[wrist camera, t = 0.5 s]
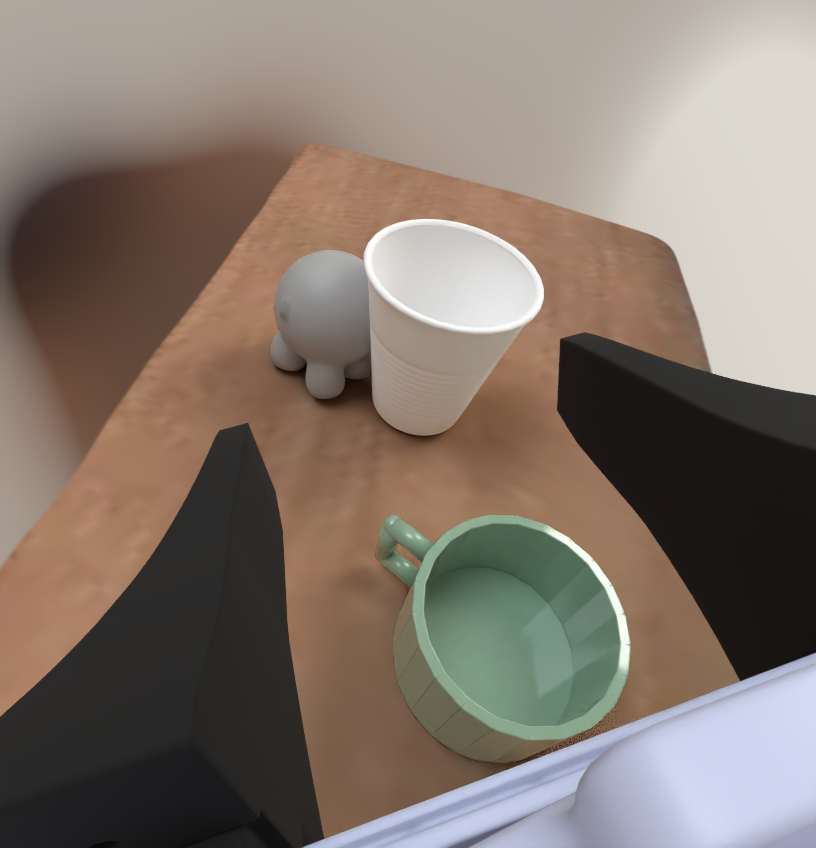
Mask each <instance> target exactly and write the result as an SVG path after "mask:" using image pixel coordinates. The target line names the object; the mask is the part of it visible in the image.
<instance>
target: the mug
mask: <svg viewBox="0 0 816 848" xmlns="http://www.w3.org/2000/svg"><path fill="white" fill-rule="evenodd" d="M398 543H399V544H400V545H402V546H403V547H404V548H405V549H407V550H408V551H409V552H410V553H412V554H413V555H414V556H415V557H417V558H418V559H419V560H420V561H421V562H422V563H421V565H420V567H419V569H418V568H417V567H416V566H414V565H413V564H412V563H411V562H410V561H408V560H407V559H406V558H405V557H403V556H402V555H401V554H400V553H398V552H397V551H396V548H397V545H398ZM375 557H376V559H377V560H378V561H379V562H380V563H381V564H382V565H383V566H385V567H386V568H387V569H388V570H389V571H391V572H392V573H393V574H394V575H395V576H397V577H398V578H399V579H400V580H401V581H403V582H404V583H405V584H406V585H407V586H409V587H410V589H409V592H408V594H407V596H406V598H405V601H404V603H403V606H402V608H401V610H400V613H399V615H398V618H397V621H396V626H395V630H394V637H393V661H394V667H395V673H396V677H397V680H398V684H399V687H400V689H401V692H402V694H403V696H404V699H405V701H406V702H407V704H408V706H409V708H410V709H411V711H412V713H413V714H414V716H415V717H416V718H417V720H418V721H419V722H420V724H421V725H422V726H423V727H424V728H425V729H426V730H427V731H428V732H429V733H430V734H431V735H432V736H433V737H434V738H436V739H437V740H438V741H439V742H441V743H442V744H443V745H445V746H446V747H448V748H450V749H451V750H453V751H454V752H456V753H459V754H461V755H463V756H466V757H468V758H471V759H475V760H478V761H482V762H490V763H509V762H514V761H520V760H523V759H526V758H528V757H530V756H533V755H535V754H537V753H540V752H542V751H545V750H547V749H549V748H551V747H553V746H555V745H557V744H560V743H562V742H564V741H566V740H568V739H570V738H572V737H574V736H576V735H579V734H581V733H583V732H585V731H587V730H589V729H591V728H592V727H594V726H595V725H596V724H597V723H598V722H599V721H600V720H601V719H602V718H603V717H604V716H605V715H606V714H607V713H608V712H609V711H610V710H611V709H612V708H613V707H614V705H616V702H617V700H618V698H619V696H620V694H621V691H622V689H623V687H624V685H625V682H626V680H627V677H628V669H629V660H630V650H631V647H630V646H631V644H630V638H629V632H628V627H627V621H626V616H625V612H624V610H623V608H622V606H621V603H620V601H619V599H618V596H617V594H616V592H615V590H614V587H613V586H612V584H611V582H610V581H609V580H608V578H607V577H606V575H605V574H604V573H603V571H602V570H601V569H600V567H599V566H598V564H597V563H596V562H595V560H593V558H592V557H591V556H589V555H588V554H587V553H586V552H585V551H584V550H583V549H582V548H581V547H579V546H578V545H577V544H576V543H575V542H574V541H573V540H570V538H569V537H567V536H565V535H563V534H562V533H560V532H558V531H556V530H555V529H553V528H551V527H549V526H547V525H545V524H543V523H540V522H536V521H533V520H530V519H527V518H523V517H520V516H509V515H487V516H483V517H479V518H475V519H470V520H466V521H464V522H462V523H460V524H459V525H457V526H455V527H454V528H452V529H450V530H449V531H447V532H445V533H444V534H443V535H442V536H441V537H440V538H439V539H438V540H437V541H436V542H435V544H433V543H432V542H431V541H430V540H428V539H427V538H426V537H425V536H423V535H422V534H421V533H420V532H418V531H417V530H416V529H414V528H413V527H412V526H411V525H409V524H408V523H407V522H406V521H404V520H403V519H402V518H401V517H399V516H397V515H390V516H388V517H387V518H386V519H385V520H384V523H383V526H382V529H381V533H380V536H379V539H378V543H377V546H376V550H375Z"/></svg>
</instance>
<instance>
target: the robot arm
mask: <svg viewBox="0 0 816 848" xmlns="http://www.w3.org/2000/svg"><path fill="white" fill-rule="evenodd" d="M557 411H558V412H559V414H560V416H561V417H562V419H563V421H564V423H565V424H566V426H567V428H568V429H569V431H570V432H571V434H572V435H573V437H574V438H575V440H576V442H577V443H578V444H579V446H580V447H581V448H582V449H583V450H584V452H585V453H586V454H587V455H588V456H589V458H590V459H591V460H592V461H593V462H594V464H595V465H596V466H597V467H598V468H599V469H600V471H601V472H602V473H603V474H604V475H605V476H606V478H607V479H608V480H609V481H610V482H611V483H612V485H613V486H614V487H615V488H616V489H617V490H618V492H619V493H620V494H621V495H622V496H623V497H624V499H625V500H626V501H627V502H628V503H629V504H630V506H631V507H632V508H633V509H634V510H635V512H636V513H637V514H638V515H639V517H640V518H641V519H642V521H643V522H644V523H645V524H646V526H647V527H648V529H649V530H650V532H651V533H652V535H653V536H654V538H655V539H656V541H657V542H658V543H659V545H660V546H661V548H662V549H663V551H664V552H665V554H666V555H667V557H668V558H669V560H670V561H671V563H672V564H673V566H674V568H675V569H676V571H677V572H678V574H679V576H680V577H681V579H682V580H683V582H684V583H685V585H686V587H687V588H688V590H689V591H690V593H691V594H692V596H693V598H694V600H695V601H696V603H697V605H698V606H699V608H700V610H701V611H702V613H703V615H704V617H705V618H706V620H707V622H708V623H709V625H710V627H711V628H712V630H713V632H714V634H715V635H716V637H717V639H718V641H719V642H720V644H721V646H722V648H723V650H724V652H725V654H726V655H727V657H728V659H729V661H730V663H731V665H732V666H733V668H734V670H735V672H736V674H737V676H738V678H739V679H740V682H737V683H735V684H732V685H729V686H727V687H724V688H721V689H719V690H716V691H714V692H711V693H708V694H706V695H703V696H700V697H698V698H695V699H692V700H690V701H687V702H685V703H682V704H679V705H677V706H674V707H671V708H669V709H666V710H663V711H661V712H658V713H656V714H653V715H650V716H648V717H645V718H642V719H640V720H637V721H634V722H632V723H629V724H626V725H624V726H621V727H619V728H616V729H613V730H611V731H608V732H605V733H603V734H600V735H597V736H595V737H592V738H590V739H587V740H584V741H582V742H579V743H576V744H574V745H571V746H568V747H566V748H563V749H561V750H558V751H555V752H553V753H550V754H547V755H545V756H542V757H539V758H537V759H534V760H531V761H529V762H526V763H524V764H521V765H518V766H516V767H513V768H510V769H508V770H505V771H502V772H500V773H497V774H495V775H492V776H489V777H487V778H484V779H481V780H479V781H476V782H473V783H471V784H468V785H465V786H463V787H460V788H458V789H455V790H452V791H450V792H447V793H444V794H442V795H439V796H436V797H434V798H431V799H429V800H426V801H423V802H421V803H418V804H415V805H413V806H410V807H407V808H405V809H402V810H400V811H397V812H394V813H392V814H389V815H386V816H384V817H381V818H378V819H376V820H373V821H370V822H368V823H365V824H363V825H360V826H357V827H355V828H352V829H349V830H347V831H344V832H341V833H339V834H336V835H334V836H331V837H328V838H326V839H324V836H323V830H322V825H321V820H320V815H319V810H318V805H317V800H316V794H315V789H314V784H313V779H312V773H311V768H310V762H309V757H308V751H307V746H306V740H305V735H304V729H303V723H302V717H301V711H300V705H299V699H298V694H297V688H296V682H295V675H294V669H293V662H292V656H291V650H290V643H289V634H288V624H287V606H286V585H285V565H284V546H283V530H282V525H281V519H280V513H279V508H278V502H277V497H276V492H275V489H274V487H273V484H272V482H271V479H270V477H269V474H268V472H267V469H266V467H265V464H264V462H263V459H262V457H261V454H260V452H259V449H258V447H257V444H256V442H255V439H254V437H253V434H252V432H251V429H250V427H249V424H248V423H246V424H242V425H238V426H235V427H231V428H227V429H224V430H220V431H219V432H218V434H217V435H216V437H215V439H214V441H213V444H212V446H211V448H210V450H209V453H208V455H207V457H206V459H205V461H204V464H203V466H202V468H201V470H200V472H199V474H198V476H197V478H196V480H195V482H194V484H193V486H192V488H191V490H190V492H189V494H188V496H187V498H186V500H185V501H184V503H183V505H182V507H181V509H180V510H179V512H178V514H177V515H176V517H175V519H174V520H173V522H172V524H171V526H170V527H169V529H168V531H167V532H166V534H165V536H164V537H163V539H162V540H161V542H160V543H159V545H158V547H157V548H156V550H155V551H154V553H153V554H152V555H151V557H150V558H149V560H148V561H147V562H146V564H145V565H144V567H143V568H142V569H141V571H140V572H139V573H138V575H137V576H136V577H135V579H134V580H133V581H132V582H131V584H130V585H129V586H128V587H127V588H126V590H125V591H124V592H123V593H122V594H121V596H120V597H119V598H118V599H117V600H116V601H115V603H114V604H113V605H112V606H111V607H110V609H109V610H108V611H107V612H106V613H105V614H104V616H103V617H102V618H101V619H100V620H99V621H98V623H97V624H96V625H95V626H94V627H93V628H92V629H91V630H90V631H89V632H88V633H87V634H86V635H85V637H84V638H83V639H82V640H81V641H80V642H79V643H78V644H77V645H76V646H75V647H74V648H73V649H72V650H71V651H70V652H69V653H68V654H67V655H66V656H65V657H64V658H63V659H62V660H61V661H60V662H59V663H58V664H57V665H56V666H55V667H54V668H53V669H52V670H51V671H50V672H49V673H48V674H47V675H46V676H45V677H44V678H43V679H42V680H41V681H39V682H38V683H37V684H36V685H35V686H34V687H33V688H32V689H31V690H30V691H28V692H27V693H26V694H25V695H24V696H23V697H22V698H21V699H19V700H18V701H17V702H16V703H15V704H14V705H13V706H12V707H11V708H9V709H8V710H7V711H6V712H5V713H4V714H3V715H2V716H1V717H0V848H816V396H815V395H809V394H803V393H795V392H790V391H785V390H779V389H774V388H770V387H765V386H761V385H756V384H751V383H747V382H742V381H738V380H734V379H730V378H726V377H723V376H719V375H716V374H712V373H709V372H705V371H702V370H698V369H695V368H692V367H688V366H685V365H682V364H679V363H676V362H673V361H670V360H667V359H664V358H661V357H658V356H655V355H652V354H650V353H647V352H644V351H641V350H638V349H635V348H632V347H630V346H627V345H624V344H621V343H618V342H615V341H612V340H609V339H606V338H603V337H600V336H597V335H593V334H589V333H585V332H584V333H580V334H577V335H573V336H569V337H565V338H562V339H560V358H559V380H558V403H557Z"/></svg>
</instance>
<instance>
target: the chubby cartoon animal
mask: <svg viewBox="0 0 816 848" xmlns="http://www.w3.org/2000/svg"><path fill="white" fill-rule="evenodd" d="M274 313H275V319H276V323H277V326H278V329H279V330H278V331H277V333H276V334H275V336H274V338H273V340H272V343H271V347H270V357H271V360H272V362H273V364H274V365H275V366H277V367H279V368H281V369H283V370H287V371H297V370H299V369H301V368H302V367H304V365H305V364H306V362H307V369H306V376H305V381H306V386H307V389H308V391H309V392H310V394H311V395H313V396H314V397H316V398H320V399H328V398H333V397H336V396H338V395H339V394H340V393H341V392H342V391H343V388H344V385H345V377H347V378H350V379H363V378H366V377H367V376H369V374H370V373H371V372H372V368H371V339H370V318H369V290H368V278H367V275H366V272H365V268H364V261H363V260H362V259H360V258H358V257H356V256H354V255H352V254H350V253H347V252H343V251H337V250H323V251H318V252H314V253H311V254H308V255H306V256H304V257H302V258H300V259H299V260H298V261H296V262H295V263H294V264H293V265H292V266H291V267H290V268H289V269H288V270H287V271H286V272H285V274H284V275H283V277H282V278H281V280H280V282H279V285H278V287H277V291H276V295H275V301H274Z"/></svg>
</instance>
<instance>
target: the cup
mask: <svg viewBox="0 0 816 848" xmlns="http://www.w3.org/2000/svg"><path fill="white" fill-rule="evenodd" d="M364 268H365V272H366V275H367V278H368V290H369V318H370V339H371V368H372V399H373V403H374V406H375V408H376V410H377V412H378V413H379V415H380V416H381V417H382V418H383V419H384V420H385V421H386V422H387V423H388V424H390V425H391V426H393V427H394V428H396V429H398V430H401V431H403V432H405V433H409V434H413V435H422V436H426V435H435V434H439V433H442V432H444V431H446V430H448V429H449V428H450V427H452V426H453V425H454V424H455V423H456V421H457V420H458V419H459V417H460V416H461V415H462V413H463V412H464V410H465V409H466V407H467V406H468V405H469V403H470V401H471V400H472V399H473V397H474V396H475V395H476V393H477V391H478V390H479V389H480V387H481V386H482V385H483V383H484V382H485V380H486V379H487V377H488V376H489V375H490V373H491V372H492V370H493V369H494V367H495V366H496V365H497V363H498V362H499V360H500V359H501V357H502V356H503V355H504V354H505V352H506V351H507V349H508V348H509V347H510V345H511V344H512V342H513V341H514V339H515V338H516V337H517V335H518V334H519V332H520V331H521V330H522V328H523V327H524V325H525V324H527V323H528V322H530V321H531V320H533V319H534V317H535V316H536V315H537V313H538V312H539V311H540V309H541V306H542V303H543V300H544V288H543V285H542V281H541V278H540V276H539V274H538V273H537V271H536V269H535V268H534V266H533V265H532V264H531V263H530V262H529V260H528V259H527V258H526V257H525V256H524V255H523V254H522V253H520V252H519V251H518V250H517V249H516V248H514V247H513V246H511V245H510V244H508V243H507V242H505V241H504V240H502V239H500V238H498V237H496V236H494V235H492V234H490V233H488V232H486V231H483V230H481V229H478V228H475V227H473V226H469V225H465V224H462V223H458V222H452V221H446V220H436V219H418V220H409V221H404V222H399V223H396V224H393V225H391V226H388V227H386V228H384V229H383V230H381V231H380V232H378V233H377V234H375V236H374V237H373V238H372V239H371V240H370V241H369V243H368V245H367V247H366V250H365V252H364Z"/></svg>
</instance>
